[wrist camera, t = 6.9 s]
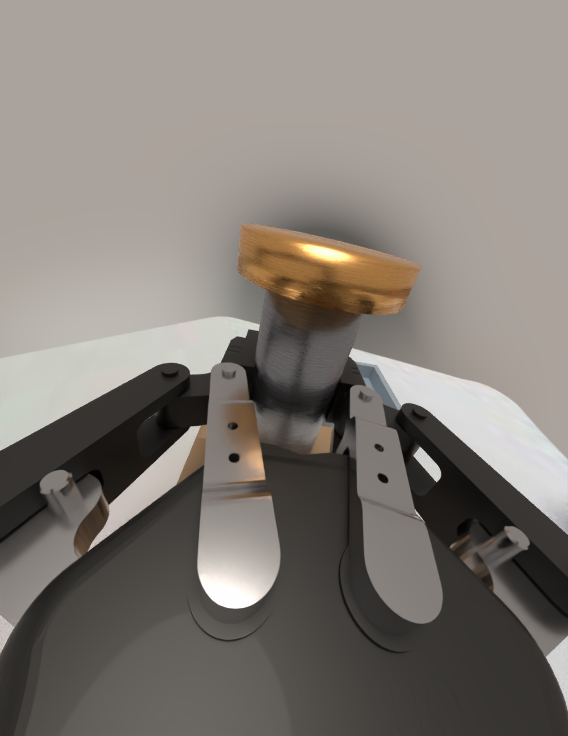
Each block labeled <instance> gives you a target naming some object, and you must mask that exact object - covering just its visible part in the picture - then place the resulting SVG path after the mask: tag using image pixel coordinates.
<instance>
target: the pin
mask: <svg viewBox="0 0 568 736" xmlns="http://www.w3.org/2000/svg"><path fill="white" fill-rule="evenodd" d="M237 269H238V271H239V273H240V274H241V275H242V276H243V277H245V278H246V279H247V280H249V281H251V282H252V283H254V284H256V285H258V286H260V287H263V288H265V296H264V302H263V309H262V315H261V322H260V328H259V335H258V341H257V348H256V354H255V369H254V375H253V382H252V388H251V394H250V400H253V402H254V407H255V413H256V420H257V426H258V433H259V439H260V443H267V444H273V445H276V446H278V447H281V448H284V449H287V450H289V451H292V452H295V453H297V454H301V455H307V454H311V451H312V449H313V446H314V444H315V441H316V438H317V436H318V433H319V431H320V428H321V426H322V423H323V421H324V418H325V415H326V413H327V410H328V408H329V405H330V403H331V400H332V398H333V395H334V392H335V390H336V387H337V385H338V382H339V380H340V377H341V375H342V372H343V369H344V367H345V364H346V362H347V359H348V357H349V354H350V352H351V349H352V346H353V344H354V341H355V339H356V336H357V334H358V331H359V328H360V326H361V323H362V321H363V318H364V315H365V314H378V315H379V314H380V315H383V314H393V313H397V312H399V311H400V310H402V309H403V306H404V304H405V302H406V300H407V298H408V296H409V294H410V291H411V289H412V287H413V285H414V283H415V281H416V279H417V276H418V275H419V272H420V270H421V266H420V265H418V264H415V263H413V262H410V261H408V260H405V259H402V258H399V257H396V256H392V255H389V254H386V253H382V252H379V251H375V250H372V249H368V248H364V247H361V246H356V245H352V244H348V243H345V242H341V241H337V240H333V239H328V238H324V237H320V236H315V235H311V234H305V233H301V232H296V231H291V230H286V229H281V228H275V227H269V226H263V225H256V224H241V231H240V243H239V254H238V266H237Z"/></svg>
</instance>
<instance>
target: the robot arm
mask: <svg viewBox="0 0 568 736" xmlns="http://www.w3.org/2000/svg"><path fill="white" fill-rule="evenodd" d="M258 335H259V331H255V330H250V329H249V330H248V333H247V336H246V338H243V337H235V338H234V339H232V340H231V341H230V344H229V346H228V348H227V351H226V352H225V355H224V357H223V359H222V361H221V363H219V364H217V365H215V366H214V367H213V368H212V369H211V373H207V374H197V375H190V371H189V369H188V368H187V367H186V366H184V365H181V364H178V363H164V364H160V365H158V366H155V367H154V368H152V369H150V370H148V371H146V372H144V373H143V374H141V375H139V376H137V377H135V378H133V379H132V380H130V381H128V382H126V383H124V384H122V385H121V386H119V387H117V388H115V389H113V390H111V391H110V392H108V393H106V394H104V395H102V396H100V397H99V398H97V399H95V400H93V401H91V402H89V403H87V404H86V405H84V406H82V407H80V408H78V409H76V410H75V411H73V412H71V413H69V414H67V415H65V416H64V417H62V418H60V419H58V420H56V421H54V422H53V423H51V424H49V425H47V426H45V427H43V428H42V429H40V430H38V431H36V432H34V433H32V434H31V435H29V436H27V437H25V438H23V439H21V440H20V441H18V442H16V443H14V444H12V445H10V446H9V447H7V448H5V449H3V450H1V451H0V615H1V616H3V617H4V618H5V619H6V620H7V621H8V622H9V623H11V624H12V625H13V626H14V627H15V628H14V629H13V631H12V633H11V634H10V636H9V638H8V640H7V642H6V644H5V646H4V648H3V650H2V652H1V654H0V736H568V710H567V706H566V703H565V699H564V696H563V694H562V691H561V689H560V686H559V683H558V681H557V679H556V677H555V675H554V673H553V670H552V668H551V666H550V664H549V663H548V661H547V659H546V656H547V655H548V654H549V653H550V652H551V651H552V650H553V649H554V648H555V647H557V646H558V645H559V644H560V643H561V642H562V641H563V640H564V639H565V638H566V637H567V636H568V535H567V534H566V533H565V532H564V531H563V530H562V529H561V528H559V527H558V526H557V525H556V524H555V523H554V522H553V521H552V520H550V519H549V518H548V517H547V516H546V515H545V514H544V513H543V512H541V511H540V510H539V509H538V508H537V507H536V506H535V505H534V504H532V503H531V502H530V501H529V500H528V499H527V498H526V497H525V496H523V495H522V494H521V493H520V492H519V491H518V490H517V489H515V488H514V487H513V486H512V485H511V484H510V483H509V482H508V481H506V480H505V479H504V478H503V477H502V476H501V475H500V474H499V473H497V472H496V471H495V470H494V469H493V468H492V467H491V466H490V465H488V464H487V463H486V462H485V461H484V460H483V459H482V458H481V457H479V456H478V455H477V454H476V453H475V452H474V451H473V450H472V449H470V448H469V447H468V446H467V445H466V444H465V443H464V442H463V441H461V440H460V439H459V438H458V437H457V436H456V435H455V434H454V433H452V432H451V431H450V430H449V429H448V428H447V427H446V426H445V425H443V424H442V423H441V422H440V421H439V420H438V419H437V418H436V417H434V416H433V415H432V414H431V413H430V412H429V411H427V410H426V409H424V408H423V407H421V406H418V405H415V404H411V403H406V404H403V405H402V407H401V408H400V410H397V409H394V408H392V407H389V406H386V405H384V404H383V402H382V398H381V396H380V395H379V394H378V393H377V392H376V391H374V390H373V389H371V388H369V387H367V386H366V384H365V382H364V380H363V377H362V375H361V373H360V371H359V370H358V366H357V364H356V362H354V361H353V360H352V359H351V358H350V357H348V359H347V362H346V364H345V367H344V369H343V372H342V375H341V377H340V380H339V382H338V385H337V387H336V390H335V392H334V395H333V398H332V400H331V403H330V405H329V408H328V410H327V413H326V415H325V421H326V422H329V423H334V428H333V430H332V433H331V441H330V451H329V453H318V454H307V455H301V454H297V453H295V452H292V451H289V450H287V449H284V448H281V447H278V446H276V445H273V444H267V443H260V439H259V433H258V426H257V420H256V413H255V407H254V402H253V400H250V394H251V388H252V382H253V375H254V369H255V354H256V348H257V341H258ZM153 414H154V415H153ZM149 417H150V418H149ZM145 420H146V421H145ZM200 425H207V433H206V448H205V462H204V465H202V466H201V467H200V468H198V469H197V470H196V471H194V472H193V473H192V474H190V475H189V476H188V477H186V478H185V479H184V480H182V481H181V482H180V483H178V484H177V485H176V486H174V487H173V488H172V489H170V490H169V491H168V492H166V493H165V494H164V495H162V496H161V497H160V498H158V499H157V500H156V501H154V502H153V503H152V504H150V505H149V506H148V507H146V508H145V509H144V510H142V511H141V512H140V513H138V514H137V515H136V516H134V517H133V518H132V519H130V520H129V521H128V522H127V523H125V524H124V525H123V526H121V527H120V528H119V529H117V530H116V531H115V532H113V533H112V534H111V535H109V536H108V537H107V538H105V539H104V540H103V541H101V542H100V543H99V544H97V545H96V546H95V547H93V548H92V549H91V550H89V551H88V549H89V547H90V545H91V543H92V542H93V540H94V539H95V537H96V536H97V535H98V534H99V532H100V531H101V530H102V529H103V527H104V526H105V524H106V522H107V520H108V516H109V506H108V505H109V504H110V503H111V502H113V501H114V500H115V499H116V498H117V497H118V496H119V495H120V494H121V493H122V492H123V491H124V490H125V489H126V488H127V487H128V486H129V485H131V484H132V483H133V482H134V481H135V480H136V479H137V478H138V477H139V476H140V475H141V474H142V473H143V472H144V471H145V470H146V469H147V468H149V467H150V466H151V465H152V464H153V463H154V462H155V461H156V460H157V459H158V458H159V457H160V456H161V455H162V454H163V453H164V452H165V451H167V450H168V449H169V448H170V447H171V446H172V445H173V444H174V443H175V442H176V441H177V440H178V439H179V438H180V437H181V436H182V435H183V434H185V433H186V432H187V431H188V429H189V428H190V426H200ZM419 447H421V448H422V449H423V450H424V451H425V452H426V453H427V454H428V455H429V456H430V457H431V458H432V459H433V461H434V462H435V463H436V464H437V465H438V466H439V468H440V470H441V478H440V480H439V481H438V482H436V481H435V480H434V479H433V478H432V477H431V476H430V475H429V473H428V472H427V471H426V470H425V469H424V468H423V467H422V465H421V464H420V463H419V462H418V461H417V460H416V459H415V458H414V456H413V455H414V454H415V453H416V451H417V450H418V449H419ZM414 508H415V509H416V511H417V512H418V513H419V515H420V516H421V517H422V519H423V520H424V522H425V523H426V524H427V525H426V524H425V523H424V522H423V520H422V519H421V518H420V517H419V516H418V515H417V514H416V512H415V509H414Z"/></svg>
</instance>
